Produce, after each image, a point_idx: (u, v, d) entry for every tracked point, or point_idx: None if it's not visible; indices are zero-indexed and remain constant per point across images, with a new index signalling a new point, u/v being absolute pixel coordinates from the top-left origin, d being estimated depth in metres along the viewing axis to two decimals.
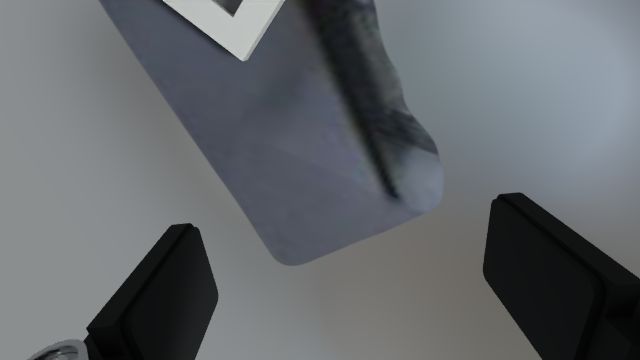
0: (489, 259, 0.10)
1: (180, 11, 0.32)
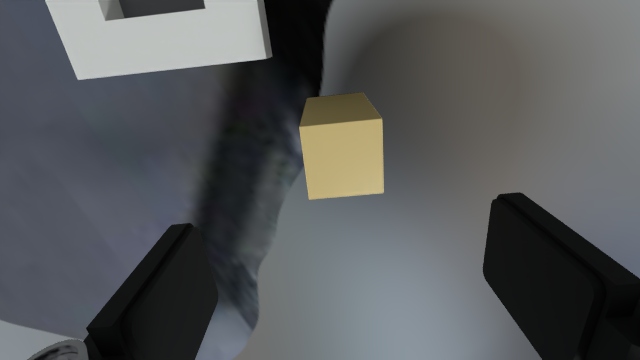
0: (489, 259, 0.10)
1: None
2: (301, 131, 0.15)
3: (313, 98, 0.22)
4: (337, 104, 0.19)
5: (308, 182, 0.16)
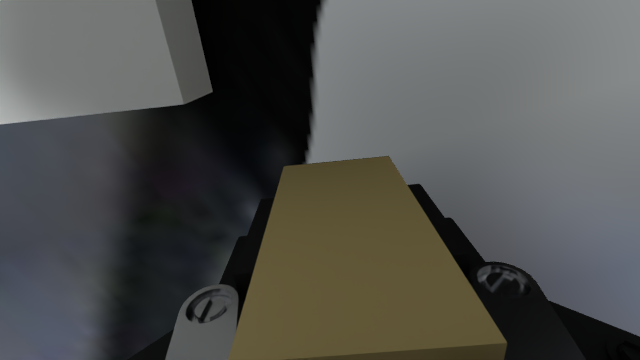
0: None
1: None
2: None
3: (295, 169, 0.11)
4: (344, 203, 0.09)
5: None
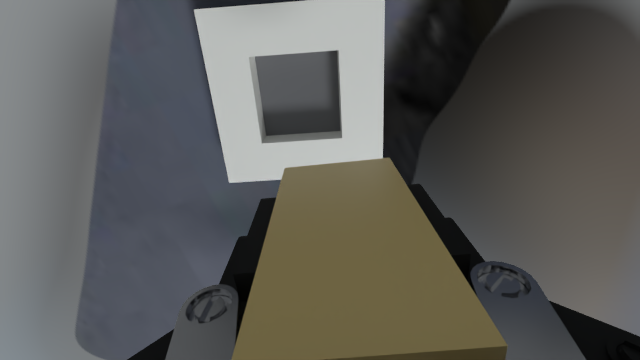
0: None
1: (211, 82, 0.21)
2: None
3: (296, 171, 0.11)
4: (345, 206, 0.09)
5: None
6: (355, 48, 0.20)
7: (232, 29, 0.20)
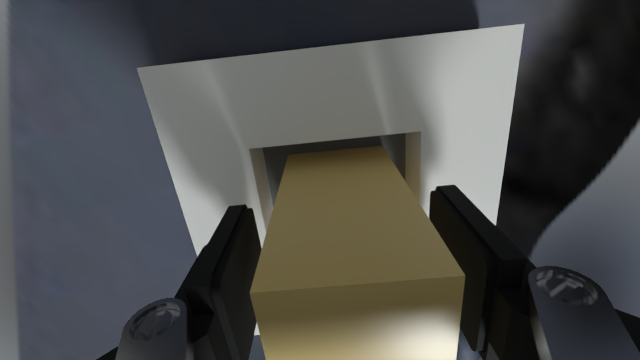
0: None
1: (182, 193, 0.12)
2: (256, 301, 0.06)
3: (298, 157, 0.13)
4: (341, 183, 0.10)
5: None
6: (454, 127, 0.11)
7: (215, 102, 0.10)
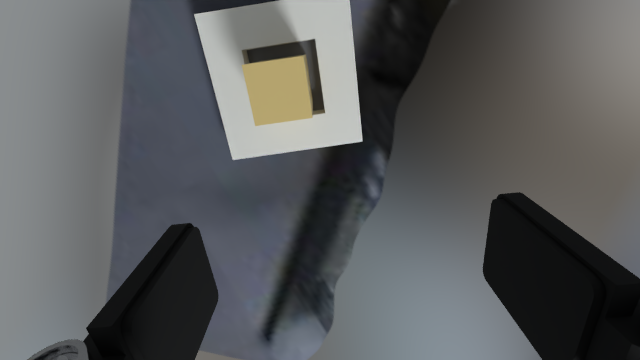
0: (489, 259, 0.10)
1: (212, 74, 0.26)
2: (243, 68, 0.20)
3: None
4: (280, 58, 0.24)
5: (253, 111, 0.21)
6: (328, 35, 0.25)
7: (226, 28, 0.24)
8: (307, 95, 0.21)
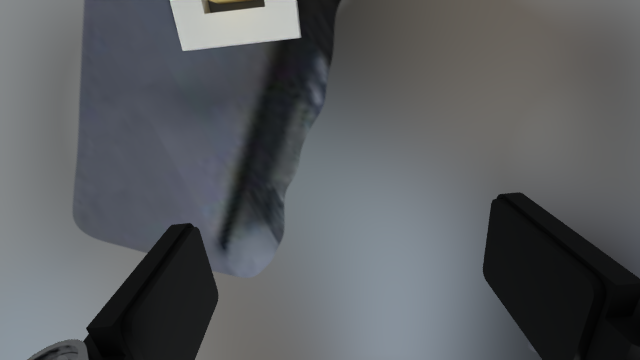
0: (489, 259, 0.10)
1: None
2: None
3: None
4: None
5: None
6: None
7: None
8: None
